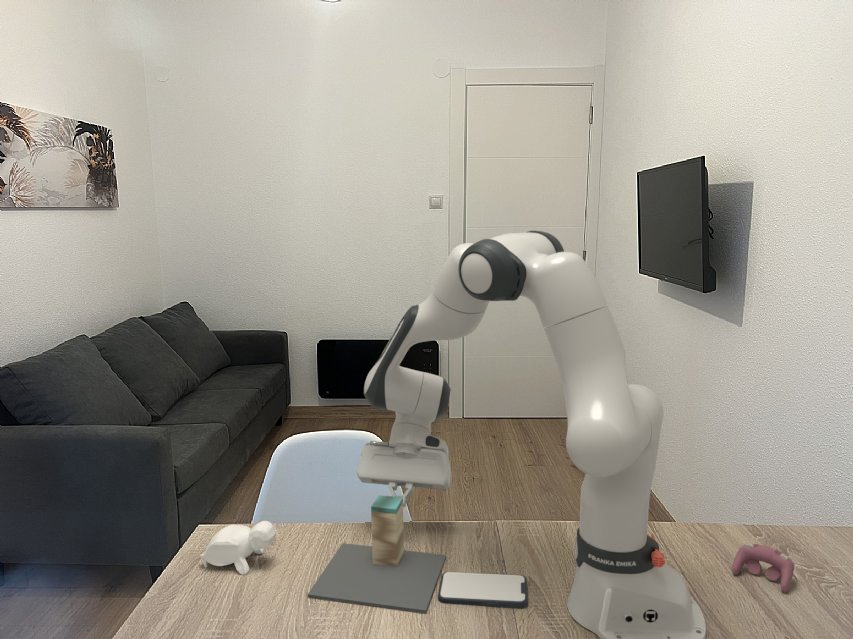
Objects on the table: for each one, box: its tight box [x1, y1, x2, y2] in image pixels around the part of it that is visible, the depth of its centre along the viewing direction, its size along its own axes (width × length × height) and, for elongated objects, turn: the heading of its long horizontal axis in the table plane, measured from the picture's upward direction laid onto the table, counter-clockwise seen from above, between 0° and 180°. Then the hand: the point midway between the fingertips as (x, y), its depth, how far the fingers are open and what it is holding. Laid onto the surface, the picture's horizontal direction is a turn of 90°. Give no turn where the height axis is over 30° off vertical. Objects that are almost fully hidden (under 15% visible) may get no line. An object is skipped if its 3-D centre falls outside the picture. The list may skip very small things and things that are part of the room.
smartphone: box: [437, 571, 529, 610], centre depth 116 cm, size 9×2×16 cm
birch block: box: [370, 495, 405, 566], centre depth 125 cm, size 5×5×12 cm
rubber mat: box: [307, 542, 447, 614], centre depth 121 cm, size 22×18×1 cm
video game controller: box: [731, 543, 795, 594], centre depth 119 cm, size 10×5×7 cm, turn 48°
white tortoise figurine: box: [199, 520, 277, 576], centre depth 126 cm, size 8×8×15 cm
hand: (398, 505), depth 132 cm, fingers closed
